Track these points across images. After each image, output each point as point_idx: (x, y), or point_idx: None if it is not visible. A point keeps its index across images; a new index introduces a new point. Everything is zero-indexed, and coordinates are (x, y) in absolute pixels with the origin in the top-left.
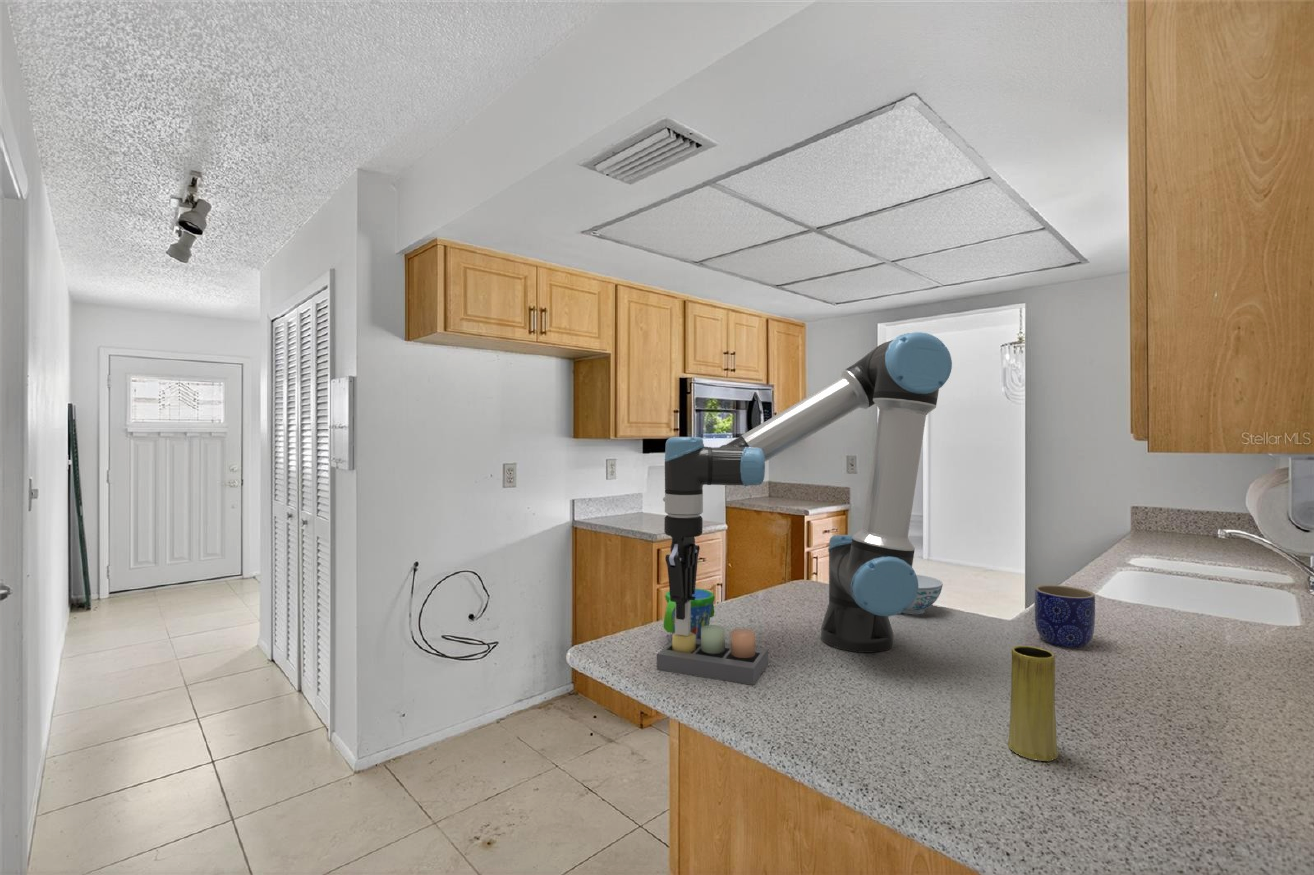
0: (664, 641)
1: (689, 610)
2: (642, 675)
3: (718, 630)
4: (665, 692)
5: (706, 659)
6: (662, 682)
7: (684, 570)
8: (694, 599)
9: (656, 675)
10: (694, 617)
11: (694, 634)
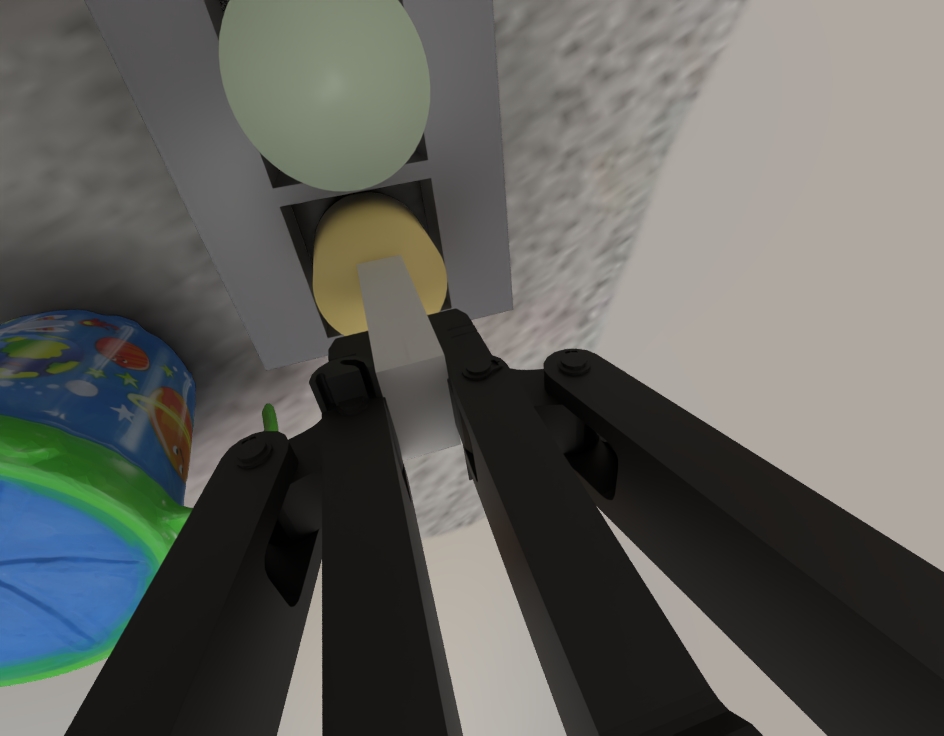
0: (221, 434)
1: (392, 328)
2: (557, 291)
3: (338, 10)
4: (661, 133)
5: (467, 51)
6: (586, 196)
7: (695, 687)
8: (339, 362)
9: (538, 252)
10: (104, 398)
11: (331, 247)
